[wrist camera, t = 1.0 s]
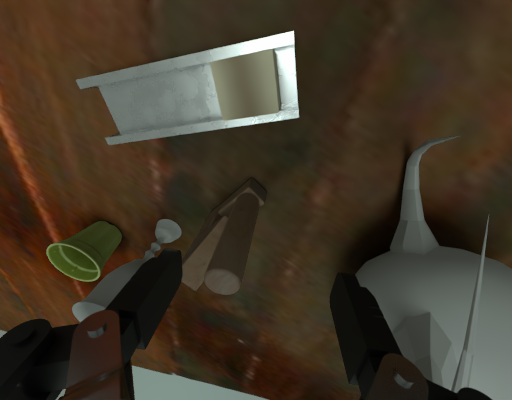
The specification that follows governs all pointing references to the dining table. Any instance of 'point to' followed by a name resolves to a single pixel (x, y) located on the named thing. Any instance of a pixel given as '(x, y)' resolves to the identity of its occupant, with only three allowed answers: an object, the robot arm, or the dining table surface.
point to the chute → (187, 92)
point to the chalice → (123, 274)
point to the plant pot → (85, 251)
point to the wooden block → (224, 242)
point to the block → (247, 85)
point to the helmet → (444, 301)
